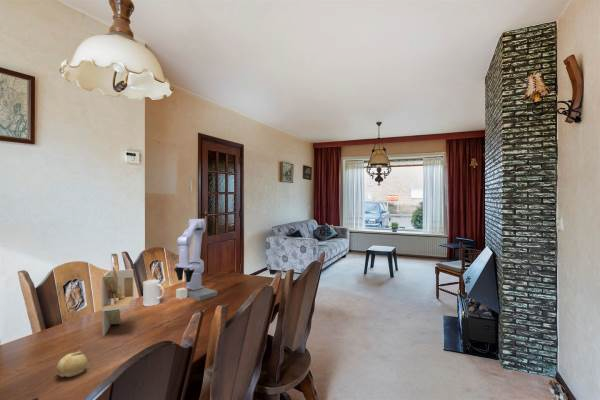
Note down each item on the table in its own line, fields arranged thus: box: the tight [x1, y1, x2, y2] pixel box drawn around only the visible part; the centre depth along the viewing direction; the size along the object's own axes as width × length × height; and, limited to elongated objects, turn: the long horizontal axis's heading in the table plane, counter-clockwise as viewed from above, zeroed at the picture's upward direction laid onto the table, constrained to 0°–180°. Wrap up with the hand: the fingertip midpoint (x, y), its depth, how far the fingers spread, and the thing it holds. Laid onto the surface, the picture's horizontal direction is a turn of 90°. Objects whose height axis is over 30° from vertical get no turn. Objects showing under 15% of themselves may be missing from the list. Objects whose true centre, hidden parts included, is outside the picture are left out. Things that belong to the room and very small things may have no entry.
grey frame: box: [101, 265, 135, 337], centre depth 132 cm, size 10×16×29 cm, turn 21°
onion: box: [55, 349, 89, 378], centre depth 98 cm, size 8×8×7 cm
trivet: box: [187, 287, 218, 301], centre depth 179 cm, size 12×12×2 cm
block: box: [175, 287, 188, 300], centre depth 176 cm, size 4×4×5 cm
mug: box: [142, 279, 165, 307], centre depth 165 cm, size 12×8×12 cm
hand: (184, 281), depth 176 cm, fingers open, 7 cm apart
